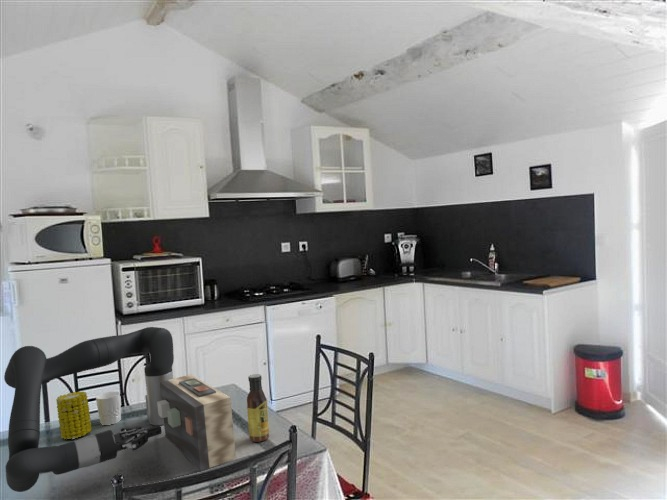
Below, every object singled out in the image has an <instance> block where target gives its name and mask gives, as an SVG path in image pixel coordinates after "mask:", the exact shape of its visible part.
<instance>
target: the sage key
mask: <svg viewBox="0 0 667 500" xmlns="http://www.w3.org/2000/svg"><path fill="white" fill-rule="evenodd" d="M167 416H168V424H169V425H170V426H171V427H177V426H180V425H181V419H180V411H179V410H177V409H176V408H172V409H169V410H167Z"/></svg>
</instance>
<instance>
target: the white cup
mask: <svg viewBox="0 0 667 500" xmlns="http://www.w3.org/2000/svg"><path fill="white" fill-rule="evenodd" d="M95 401H96V407H97V413H98V418H99V422H100V423H101V424H103V425H109V424H114V423H117V422H119V421H120V420H122V414H121V413H122V412H121V411H122V407H121V393H120V391H114V390H113V391H107V392H102V393H101V394H98V395H96V396H95ZM120 422H121V421H120ZM120 422H119V423H120ZM101 424H100V425H101ZM117 424H118V423H117ZM114 425H115V424H114Z"/></svg>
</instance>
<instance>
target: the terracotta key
mask: <svg viewBox="0 0 667 500" xmlns="http://www.w3.org/2000/svg"><path fill="white" fill-rule="evenodd" d="M185 424H186V432H187V433H189V434H190V435H191V436H192V435H193V426H192V419H190V418H189V417H188V416H187V417H185Z"/></svg>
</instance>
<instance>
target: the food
mask: <svg viewBox="0 0 667 500" xmlns="http://www.w3.org/2000/svg"><path fill="white" fill-rule="evenodd" d="M55 401H56V405H57V406H56V409H57V418H58V423H59V427H58V428H59V429H60V435H61V436H60V437H61V439H62V438H64V439H63V440H65V439H66V438H67V439H71V438H77V439H79V438H78V437H81V436H82V437H83V436H84V437H86V435H87V434H89V433H91V432H92V422H91V420H92V419H91V413H90V405H89V402H88V401H89V399H88V394H87V392H86V391H77V392H76V391H74V392H68V393H67V394H63V395H59V396H57V398H56V400H55ZM82 437H81V438H82ZM67 439H66V440H67ZM71 440H72V439H71Z"/></svg>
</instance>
